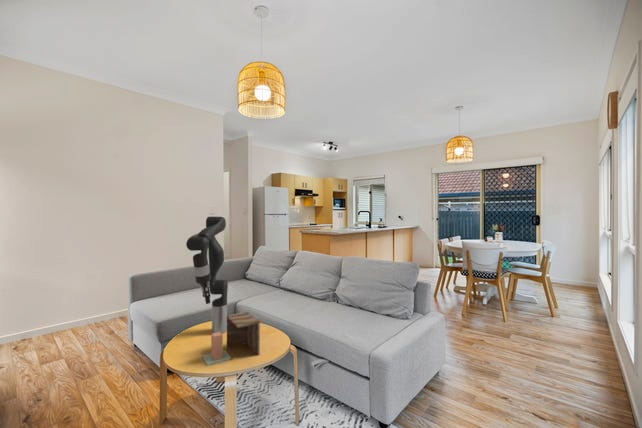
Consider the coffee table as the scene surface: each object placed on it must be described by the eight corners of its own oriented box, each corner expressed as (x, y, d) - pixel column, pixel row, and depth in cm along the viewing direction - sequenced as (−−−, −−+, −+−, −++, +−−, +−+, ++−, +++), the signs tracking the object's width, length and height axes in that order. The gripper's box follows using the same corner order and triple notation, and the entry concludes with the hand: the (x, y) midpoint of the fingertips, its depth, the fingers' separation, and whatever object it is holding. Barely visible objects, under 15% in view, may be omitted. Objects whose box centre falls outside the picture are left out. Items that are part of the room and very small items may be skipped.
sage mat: (202, 356, 154) (202, 355, 154) (225, 350, 161) (225, 349, 161) (207, 365, 145) (207, 364, 145) (231, 358, 152) (231, 357, 152)
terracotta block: (211, 356, 153) (211, 333, 153) (220, 354, 156) (220, 331, 156) (213, 360, 149) (213, 336, 150) (222, 357, 152) (222, 334, 152)
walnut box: (226, 347, 165) (226, 315, 166) (247, 342, 172) (247, 311, 172) (237, 361, 150) (237, 326, 150) (259, 354, 156) (259, 321, 157)
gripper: (212, 275, 151) (216, 303, 155) (207, 266, 163) (211, 292, 167) (197, 279, 147) (201, 308, 151) (192, 269, 159) (197, 296, 163)
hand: (206, 299), depth 159 cm, fingers open, 8 cm apart
